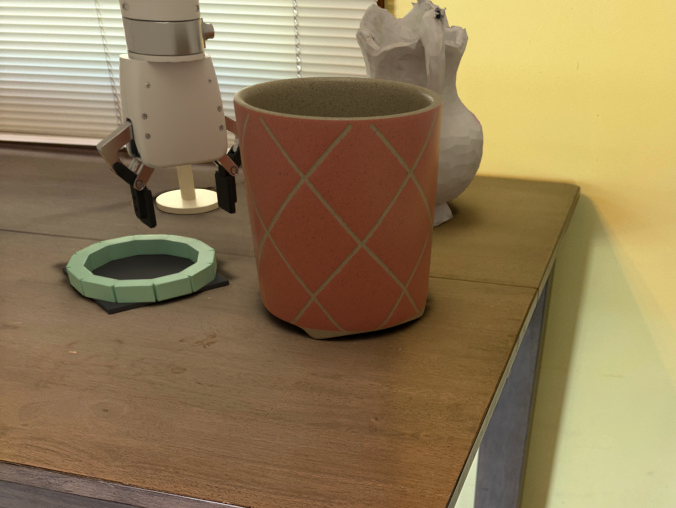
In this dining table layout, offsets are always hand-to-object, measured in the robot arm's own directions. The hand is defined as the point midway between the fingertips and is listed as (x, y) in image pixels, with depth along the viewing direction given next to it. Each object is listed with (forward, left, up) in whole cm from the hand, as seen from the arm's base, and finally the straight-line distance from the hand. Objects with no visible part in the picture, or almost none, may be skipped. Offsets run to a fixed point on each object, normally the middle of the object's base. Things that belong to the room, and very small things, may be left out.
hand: (188, 217), depth 86 cm
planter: (+8, -20, -6) cm, 22 cm away
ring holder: (+9, +22, -6) cm, 24 cm away
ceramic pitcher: (+32, 0, -6) cm, 33 cm away
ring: (-6, -1, -5) cm, 8 cm away
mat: (-7, 0, -6) cm, 9 cm away
